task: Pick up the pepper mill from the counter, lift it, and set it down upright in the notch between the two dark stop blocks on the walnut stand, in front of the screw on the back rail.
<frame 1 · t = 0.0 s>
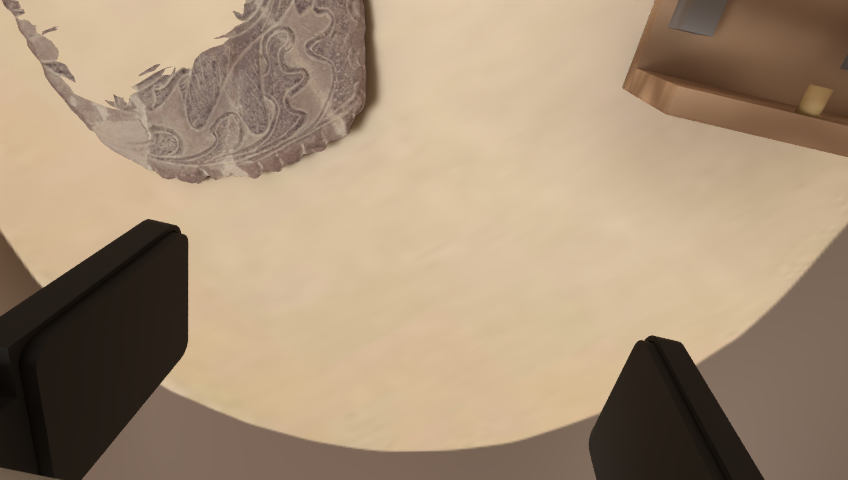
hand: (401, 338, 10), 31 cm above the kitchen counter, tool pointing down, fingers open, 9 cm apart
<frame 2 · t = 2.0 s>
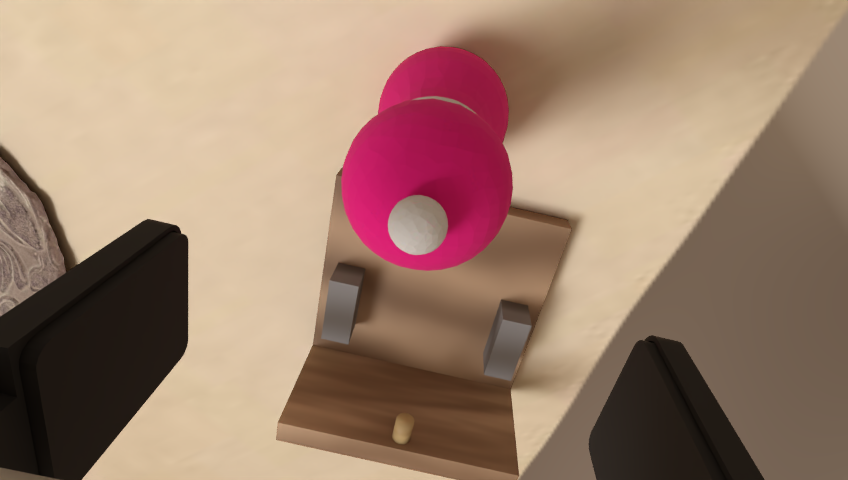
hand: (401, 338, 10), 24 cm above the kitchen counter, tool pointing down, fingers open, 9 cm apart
pepper mill: (446, 100, 32), on the kitchen counter
notched stand: (430, 290, 38), on the kitchen counter
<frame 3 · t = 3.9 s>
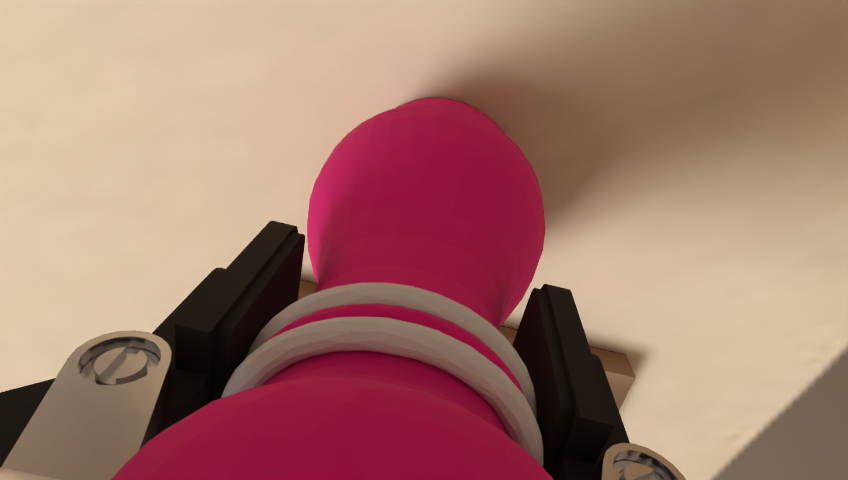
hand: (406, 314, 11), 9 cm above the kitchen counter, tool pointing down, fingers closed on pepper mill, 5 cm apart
pepper mill: (436, 177, 20), on the kitchen counter, touching gripper
notched stand: (414, 440, 26), on the kitchen counter
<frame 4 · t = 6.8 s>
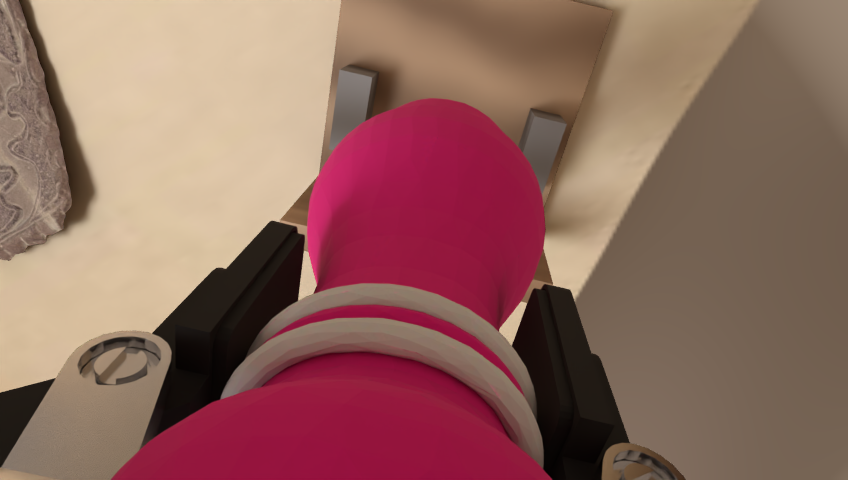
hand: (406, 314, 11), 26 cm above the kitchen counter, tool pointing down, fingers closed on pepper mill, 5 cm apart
pepper mill: (436, 177, 20), point 16 cm above the kitchen counter, touching gripper
notched stand: (450, 108, 34), on the kitchen counter
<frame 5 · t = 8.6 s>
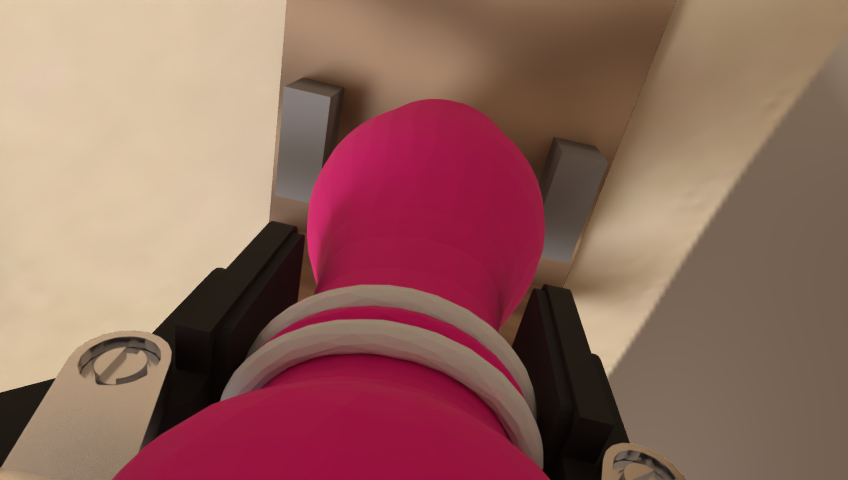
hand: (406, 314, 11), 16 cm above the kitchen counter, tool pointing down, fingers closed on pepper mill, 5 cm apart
pepper mill: (436, 177, 20), point 6 cm above the kitchen counter, touching gripper
notched stand: (443, 135, 25), on the kitchen counter
when the fingers open (12 cm above the kitchen counter, at t = 9.8 s): pepper mill stays where it is, resting on notched stand.
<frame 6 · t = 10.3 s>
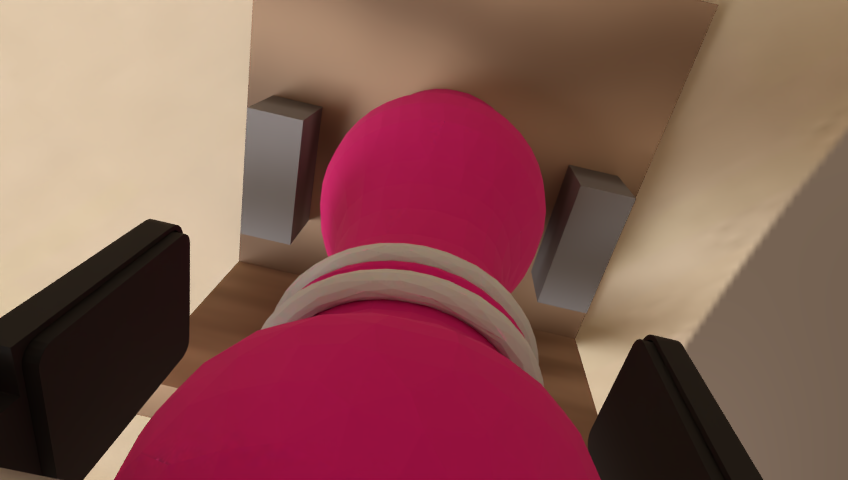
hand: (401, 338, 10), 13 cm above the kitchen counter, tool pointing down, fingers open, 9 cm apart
pepper mill: (441, 165, 21), point 1 cm above the kitchen counter, touching notched stand
notched stand: (440, 160, 22), on the kitchen counter
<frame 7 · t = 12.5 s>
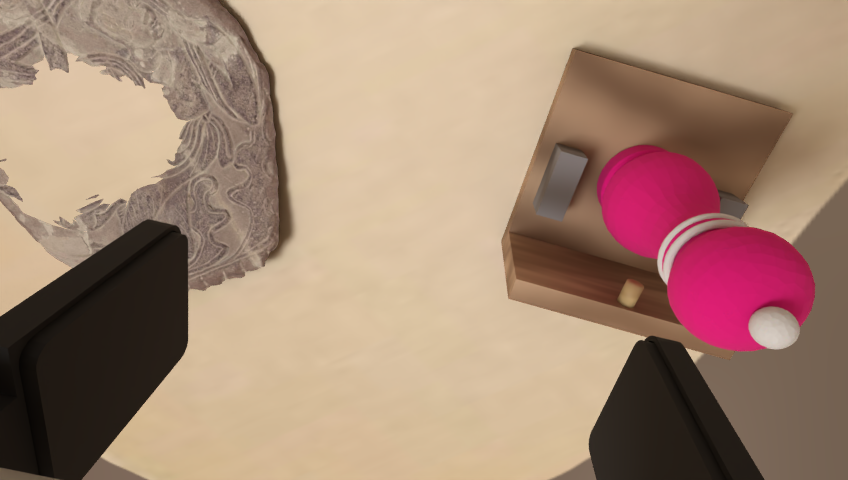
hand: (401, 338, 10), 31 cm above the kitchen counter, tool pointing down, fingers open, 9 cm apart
pepper mill: (637, 183, 39), point 1 cm above the kitchen counter, touching notched stand
notched stand: (630, 180, 40), on the kitchen counter
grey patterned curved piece: (117, 129, 43), on the kitchen counter
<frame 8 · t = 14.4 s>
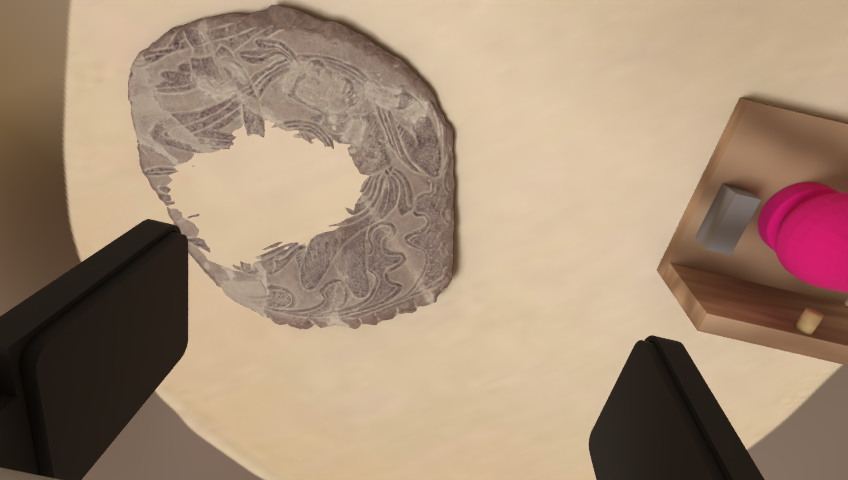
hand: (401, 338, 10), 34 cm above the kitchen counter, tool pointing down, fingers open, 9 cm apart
pepper mill: (796, 216, 42), point 1 cm above the kitchen counter, touching notched stand
notched stand: (785, 212, 43), on the kitchen counter
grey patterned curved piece: (301, 184, 47), on the kitchen counter
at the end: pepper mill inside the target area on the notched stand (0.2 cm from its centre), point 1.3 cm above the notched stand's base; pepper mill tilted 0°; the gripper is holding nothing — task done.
